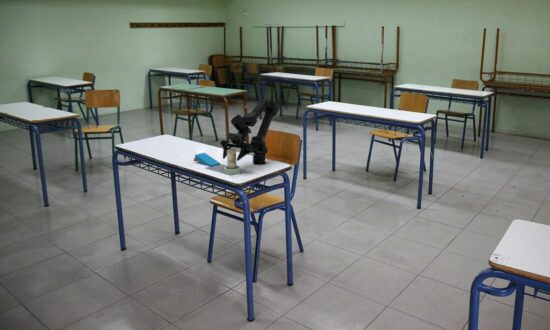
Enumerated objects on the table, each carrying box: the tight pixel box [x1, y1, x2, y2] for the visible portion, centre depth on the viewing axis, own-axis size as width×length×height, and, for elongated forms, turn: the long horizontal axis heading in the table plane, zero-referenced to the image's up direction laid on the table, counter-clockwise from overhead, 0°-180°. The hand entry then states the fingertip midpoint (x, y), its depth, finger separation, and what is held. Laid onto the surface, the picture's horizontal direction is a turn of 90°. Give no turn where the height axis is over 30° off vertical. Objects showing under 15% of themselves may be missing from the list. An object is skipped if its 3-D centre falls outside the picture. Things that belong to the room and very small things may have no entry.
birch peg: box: [226, 148, 238, 169], centre depth 254 cm, size 5×5×12 cm
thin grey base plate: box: [205, 163, 247, 177], centre depth 261 cm, size 22×12×4 cm, turn 47°
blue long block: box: [193, 152, 221, 167], centre depth 275 cm, size 7×7×18 cm
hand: (230, 159), depth 253 cm, fingers open, 9 cm apart
